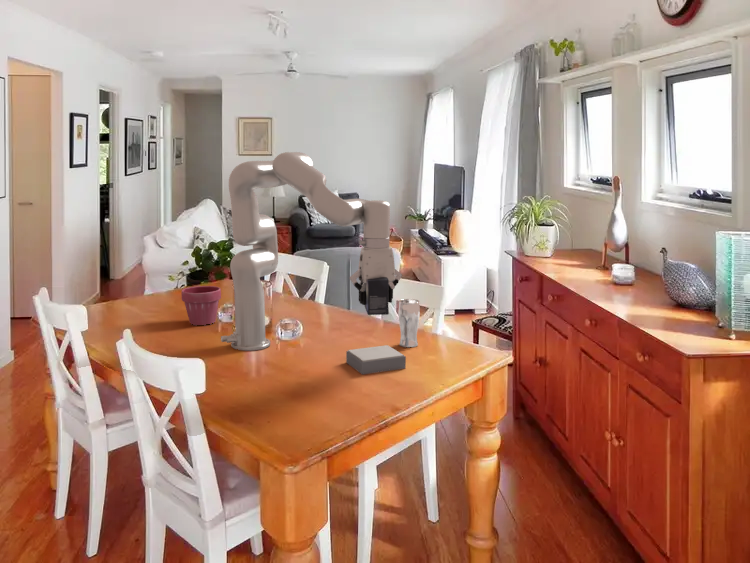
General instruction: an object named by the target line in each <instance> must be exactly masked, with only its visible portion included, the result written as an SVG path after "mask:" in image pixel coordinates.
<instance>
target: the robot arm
mask: <svg viewBox="0 0 750 563" xmlns="http://www.w3.org/2000/svg"><path fill="white" fill-rule="evenodd" d="M285 185H288V186H290V187H291V188H292V189H294V190H296V191H297V192H298V193H300V194H301V195H302V196H304V197H306V198H307V199H308V202H309V203H310V204H311V206H312V207H313V209H314V210H315V211H316V212H318V214H320V215H321V216H323V218H324V219H327V220H328V221H329V222H331V223H332V224H334V225H337V226H338V227H339V226H340V227H343V228H344V227H350V226H354V225H355V226H356V225H360V224H361V225H362V224H363V237H362V239H361V240H359V241H358V244H359V246H362V248H361V251H360V252H359V253H360V254H359V261H358V269H357V271H355V272H354V273H353V274H352V275H350V276H349V278H348V279H349V281H350V282H351V283H352V285H353V287H355V288H356V290H358V302H359V304H360V305H362V306H365V305H366V292H365V288H366V283H367V280H368V279H373V278H382V277H387V278H388V280H389V285H388V303H393V299H394V289H395V287H396V286H397V285H398V283H399V281H401V278H402V277H403V274H402V273H401V272H400V271H398V269H395V268H396V267H395V258H394V252H393V248H392V247H390V238H391V237H390V229H391V224H390V223H391V222H390V221H391V207H390V206H391V205H390V202H388V201H386V200H381V199H380V200H379V199H378V200H372V199H371V200H367V199H363V198H348V199H343V198H342V197H340V196H338V195H337V194H336V193H334V192H332V191H331V190H330V189H329V188H328V187H327V186H326V185H327V176H326V175H325V174H324V173H322V172H321V171H320V170H318V169H316V168H315V167H314V163H313V160H312V158H311V157H310V156H309V155H308V154H306V153H304V152H301V151H299V152H297V151H292V152H291V151H290V152H289V151H287V152H281V153H280V154H277V155H276V156H275V158H274V159H272V160H249V161H245V162H241V163H240V164H238V165H236V166H235V167H234V168H233V169H232V170H231V172H230V175H229V178H228V191H229V195H230V198H229V199H230V205H231V210H230V211H231V223H232V226H231V227H232V236H233V240H234V242H235V243H236V244H237V245H239V246H243V247H249V246H252V248H249V249H245V250H242V251H239V252H237V253H236V254H235V255H234V256H232V259H231V261H230V264H229V265H230V266H229V268H230V274H231V277H232V278H231V279H232V282H233V294H234V317H235V318H234V322H235V323H234V325H235V330H234V331H232V333H231V334H230V335H222V336H220V342H222V343H224V342H225V343H228V344H229V343H230V345H231V348H233V349H235V350H237V349H238V351H250V352H251V351H258V350H264V349H266V348H268V347H270V346H271V340H270V339H269V338H266V315H265V314H266V312H265V311H266V310H265V309H266V308H265V307H266V306H265V305H266V304H265V291H264V286H263V284H262V282H261V277H262V278H263V277H265V276H268V275H271V274H273V273H274V272H275V271H276V269H277V267H278V263H279V250H278V248H279V246H278V233H277V232H278V230H277V226H276V223H275V222H274V220H273V219H272V217H270V216H269V215H268V214H267V215H266V214H264V213H263V214H262V213H260V209H259V208H260V207H259V205H260V204H259V200H258V197H257V195H256V193H255V190H256V189H271V188H276V187H281V186H282V187H283V186H285ZM357 279H358V280H359V282H358V281H357Z"/></svg>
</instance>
